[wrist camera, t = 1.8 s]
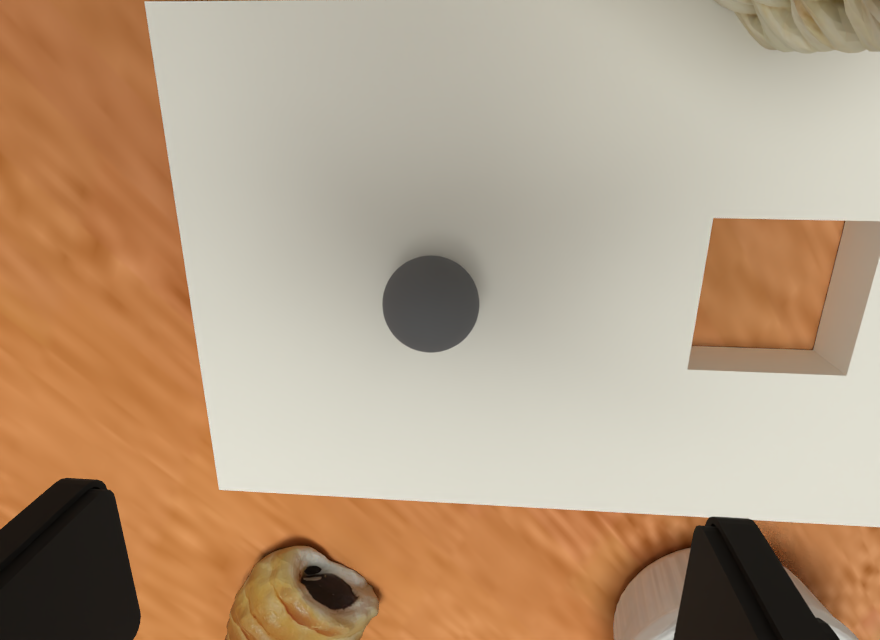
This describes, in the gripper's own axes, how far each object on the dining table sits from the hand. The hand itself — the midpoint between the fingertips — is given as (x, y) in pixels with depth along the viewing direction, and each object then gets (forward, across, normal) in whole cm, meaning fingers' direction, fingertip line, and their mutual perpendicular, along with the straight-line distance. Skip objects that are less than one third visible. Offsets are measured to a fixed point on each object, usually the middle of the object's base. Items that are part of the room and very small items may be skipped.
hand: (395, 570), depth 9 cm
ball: (+12, +1, 0) cm, 13 cm away
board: (+17, -5, 0) cm, 18 cm away
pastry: (+17, +8, +19) cm, 27 cm away
